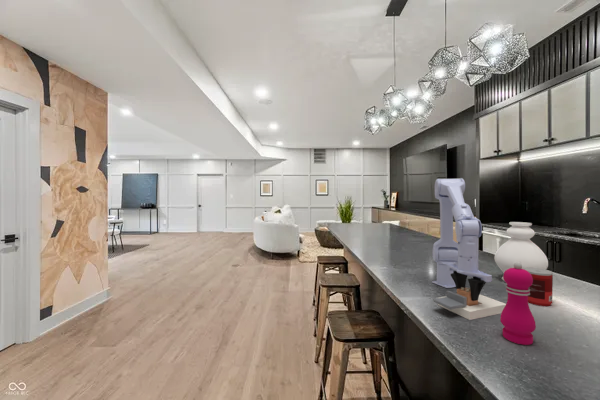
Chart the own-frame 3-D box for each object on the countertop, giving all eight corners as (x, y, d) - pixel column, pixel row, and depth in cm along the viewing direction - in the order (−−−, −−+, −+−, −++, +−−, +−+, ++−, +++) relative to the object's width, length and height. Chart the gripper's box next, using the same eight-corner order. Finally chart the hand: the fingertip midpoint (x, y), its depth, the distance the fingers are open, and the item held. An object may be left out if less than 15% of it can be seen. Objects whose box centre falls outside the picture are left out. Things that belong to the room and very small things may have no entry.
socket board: (472, 298, 99) (472, 291, 99) (507, 312, 88) (507, 304, 88) (437, 305, 94) (437, 297, 94) (469, 320, 82) (469, 311, 82)
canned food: (545, 299, 98) (545, 268, 98) (557, 307, 90) (558, 274, 90) (519, 296, 101) (519, 266, 100) (529, 305, 93) (529, 272, 93)
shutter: (448, 298, 92) (448, 290, 92) (466, 306, 86) (466, 297, 86) (433, 301, 90) (433, 293, 90) (450, 309, 83) (450, 300, 83)
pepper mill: (493, 332, 75) (493, 259, 75) (518, 331, 76) (518, 258, 75) (516, 347, 68) (516, 266, 67) (543, 345, 69) (544, 265, 68)
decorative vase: (527, 275, 125) (527, 220, 125) (560, 289, 108) (560, 225, 107) (485, 274, 127) (486, 220, 127) (511, 288, 109) (511, 225, 109)
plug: (466, 300, 93) (466, 285, 93) (477, 305, 89) (477, 289, 89) (456, 302, 91) (456, 287, 91) (468, 307, 87) (468, 291, 87)
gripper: (440, 252, 95) (440, 291, 96) (480, 262, 82) (479, 307, 82) (455, 251, 98) (455, 289, 98) (496, 260, 84) (496, 304, 84)
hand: (467, 297), depth 90 cm, fingers closed on plug, 4 cm apart
